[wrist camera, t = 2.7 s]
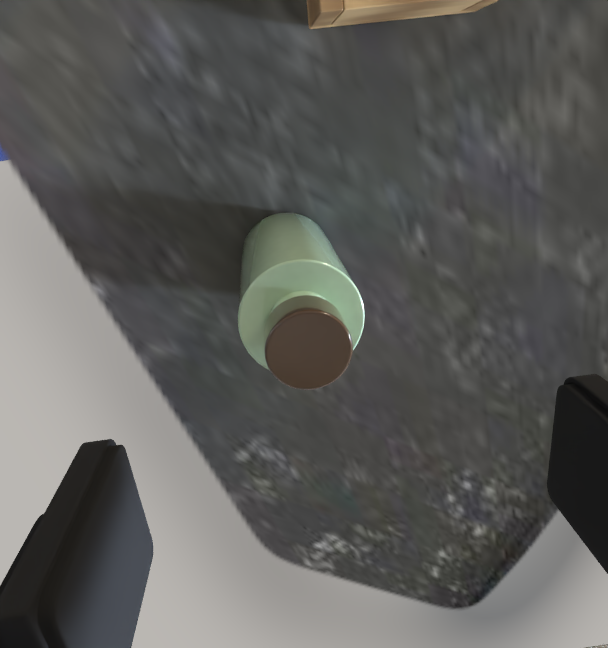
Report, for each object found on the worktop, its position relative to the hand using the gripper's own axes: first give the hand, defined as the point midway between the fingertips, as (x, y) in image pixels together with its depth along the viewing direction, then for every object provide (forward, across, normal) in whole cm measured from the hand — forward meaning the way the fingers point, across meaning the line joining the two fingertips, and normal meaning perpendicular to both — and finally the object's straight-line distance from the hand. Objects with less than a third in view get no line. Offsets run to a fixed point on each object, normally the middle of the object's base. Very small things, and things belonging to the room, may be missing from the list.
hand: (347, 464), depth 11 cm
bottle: (+17, 0, 0) cm, 17 cm away
